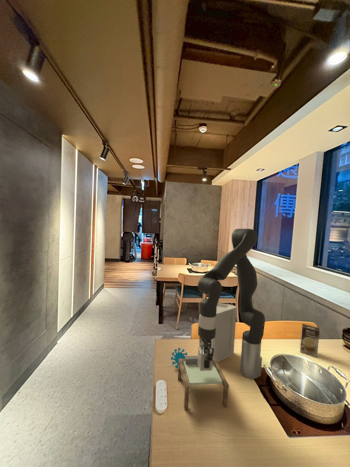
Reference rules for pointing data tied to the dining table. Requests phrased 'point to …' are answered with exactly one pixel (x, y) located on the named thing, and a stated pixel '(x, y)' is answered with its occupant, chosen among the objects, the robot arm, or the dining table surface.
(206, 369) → the small gray block
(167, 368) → the dining table surface
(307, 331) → the coffee box
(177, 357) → the teal piece
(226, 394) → the stand
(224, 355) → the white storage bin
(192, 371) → the trapdoor
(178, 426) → the dining table surface
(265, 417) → the dining table surface
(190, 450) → the dining table surface
